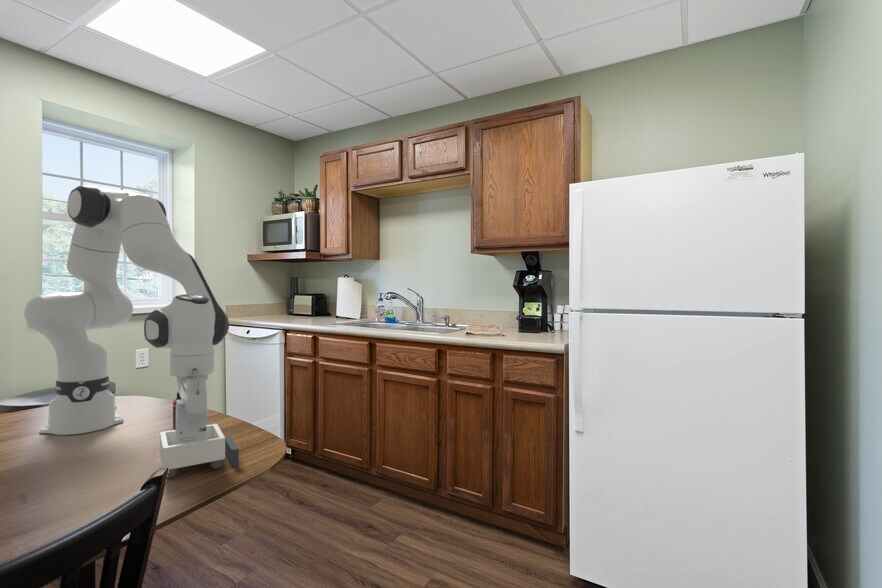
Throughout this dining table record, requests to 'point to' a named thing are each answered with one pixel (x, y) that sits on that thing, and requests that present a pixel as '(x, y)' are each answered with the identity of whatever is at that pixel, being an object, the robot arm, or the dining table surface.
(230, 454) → the block
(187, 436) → the skincare box
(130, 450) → the dining table surface
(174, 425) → the supplement bottle
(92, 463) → the dining table surface
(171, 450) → the cart
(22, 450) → the dining table surface
